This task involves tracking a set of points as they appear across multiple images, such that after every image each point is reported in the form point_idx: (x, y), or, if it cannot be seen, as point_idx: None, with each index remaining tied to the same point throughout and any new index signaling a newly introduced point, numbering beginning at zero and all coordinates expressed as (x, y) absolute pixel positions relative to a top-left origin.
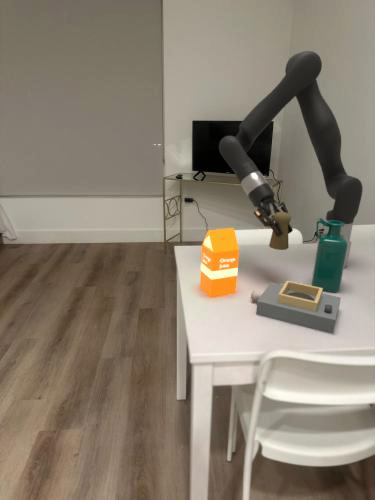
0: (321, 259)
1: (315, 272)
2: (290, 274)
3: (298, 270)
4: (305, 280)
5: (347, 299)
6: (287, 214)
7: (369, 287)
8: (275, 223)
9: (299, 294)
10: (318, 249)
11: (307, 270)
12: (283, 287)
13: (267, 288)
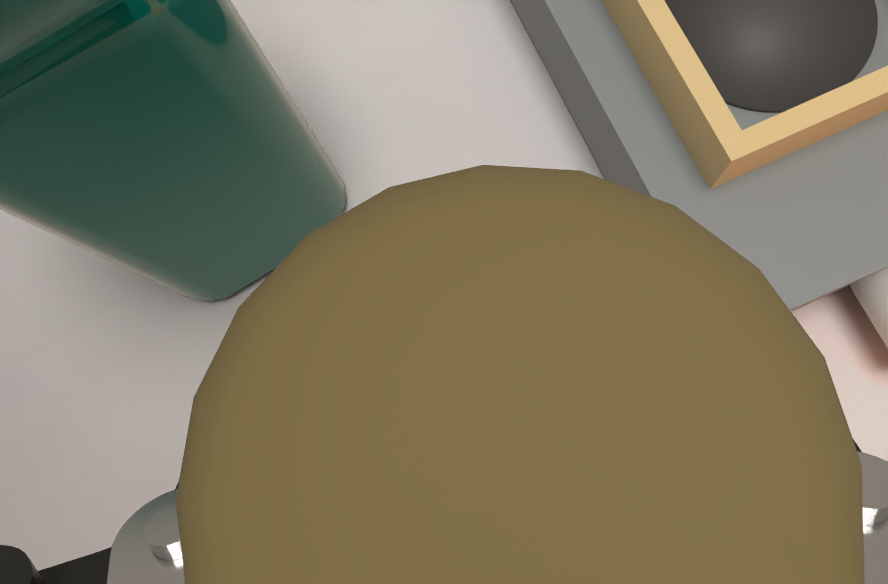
0: (265, 57)
1: (309, 165)
2: None
3: (114, 497)
4: None
5: (310, 4)
6: (469, 236)
7: None
8: (857, 452)
9: (713, 57)
10: (219, 51)
11: (58, 448)
12: (873, 89)
13: (852, 272)
